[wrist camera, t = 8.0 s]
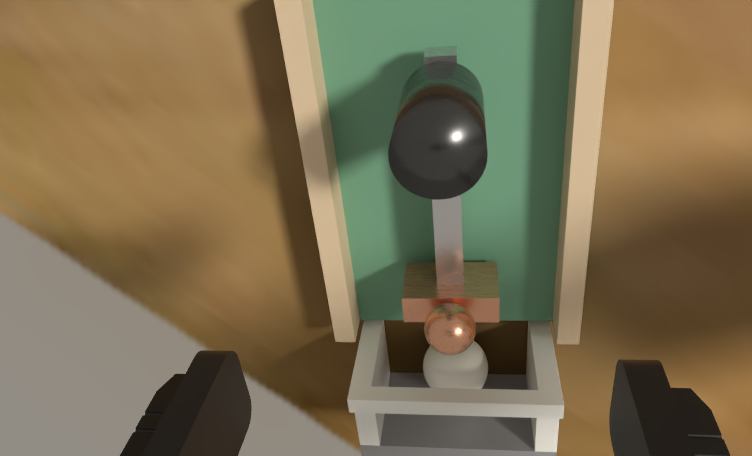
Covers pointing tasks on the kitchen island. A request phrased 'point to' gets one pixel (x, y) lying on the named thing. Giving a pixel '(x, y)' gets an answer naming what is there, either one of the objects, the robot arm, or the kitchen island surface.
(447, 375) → the ball
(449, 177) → the striker
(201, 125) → the kitchen island surface
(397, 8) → the pitch
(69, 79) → the kitchen island surface
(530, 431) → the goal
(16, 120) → the kitchen island surface
